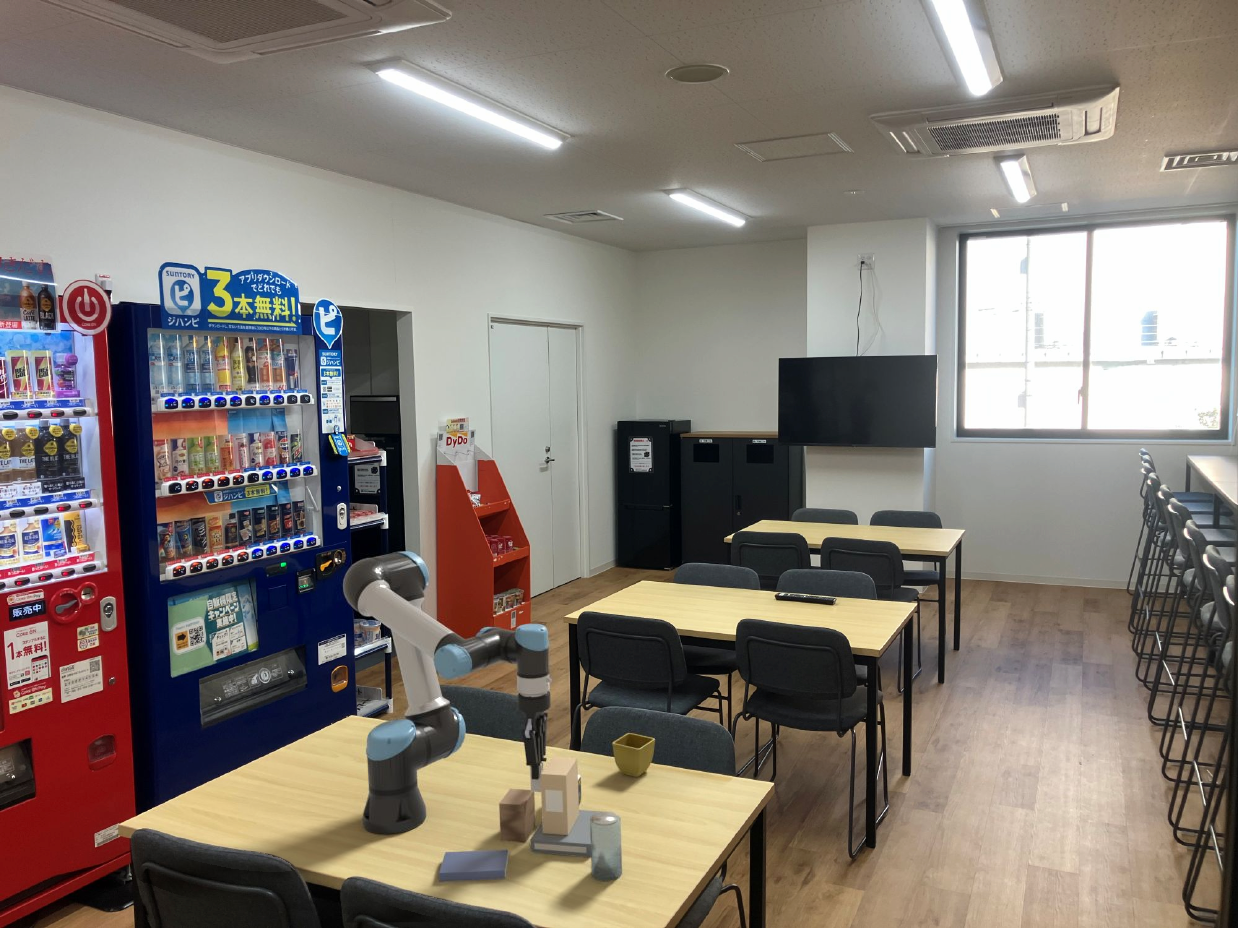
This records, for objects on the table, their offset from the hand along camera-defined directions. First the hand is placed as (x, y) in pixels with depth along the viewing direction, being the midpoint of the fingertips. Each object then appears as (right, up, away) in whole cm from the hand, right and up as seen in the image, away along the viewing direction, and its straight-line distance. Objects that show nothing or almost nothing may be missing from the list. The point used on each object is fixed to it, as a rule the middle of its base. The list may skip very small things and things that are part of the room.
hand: (537, 790), depth 215 cm
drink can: (+16, -12, -17) cm, 26 cm away
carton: (+6, -8, -1) cm, 10 cm away
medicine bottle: (+5, -10, +15) cm, 19 cm away
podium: (+8, -11, -1) cm, 13 cm away
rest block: (-5, -11, +2) cm, 12 cm away
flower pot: (+23, -8, +35) cm, 43 cm away
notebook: (-13, -13, -14) cm, 23 cm away
